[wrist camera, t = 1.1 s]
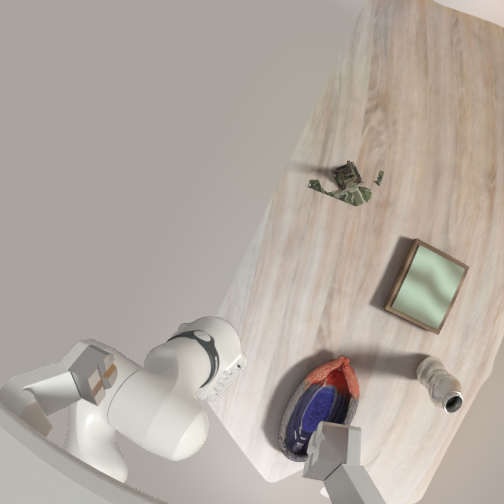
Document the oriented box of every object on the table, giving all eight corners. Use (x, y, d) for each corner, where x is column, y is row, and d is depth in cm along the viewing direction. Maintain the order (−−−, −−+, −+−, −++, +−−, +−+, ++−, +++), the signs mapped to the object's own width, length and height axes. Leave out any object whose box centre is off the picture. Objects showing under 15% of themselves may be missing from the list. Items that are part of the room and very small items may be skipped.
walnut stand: (434, 331, 60) (438, 335, 57) (383, 306, 63) (385, 309, 60) (464, 266, 58) (470, 266, 55) (413, 239, 62) (417, 238, 58)
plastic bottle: (408, 369, 61) (429, 407, 42) (430, 348, 60) (458, 380, 41) (424, 385, 60) (448, 426, 41) (445, 365, 59) (476, 400, 39)
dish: (266, 441, 70) (261, 451, 65) (317, 340, 67) (316, 347, 62) (320, 462, 66) (318, 473, 61) (379, 365, 63) (381, 373, 59)
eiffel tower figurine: (306, 187, 69) (299, 173, 56) (322, 147, 68) (317, 125, 55) (369, 213, 65) (376, 203, 52) (384, 171, 64) (393, 153, 51)
